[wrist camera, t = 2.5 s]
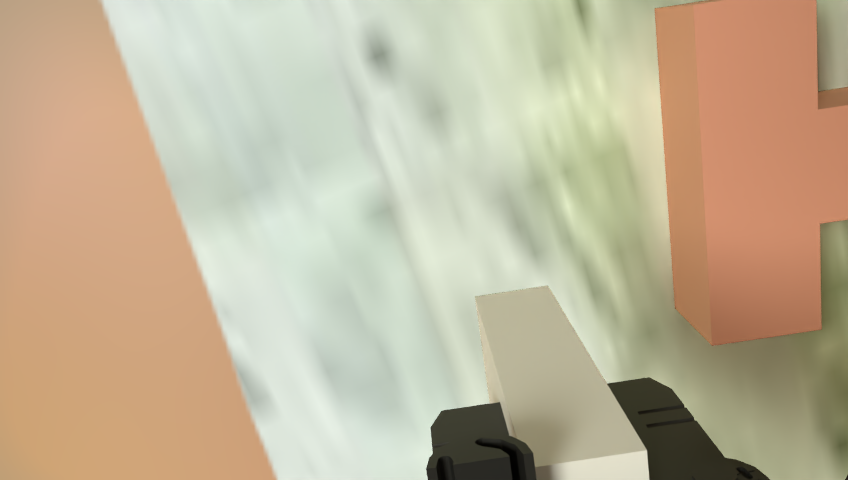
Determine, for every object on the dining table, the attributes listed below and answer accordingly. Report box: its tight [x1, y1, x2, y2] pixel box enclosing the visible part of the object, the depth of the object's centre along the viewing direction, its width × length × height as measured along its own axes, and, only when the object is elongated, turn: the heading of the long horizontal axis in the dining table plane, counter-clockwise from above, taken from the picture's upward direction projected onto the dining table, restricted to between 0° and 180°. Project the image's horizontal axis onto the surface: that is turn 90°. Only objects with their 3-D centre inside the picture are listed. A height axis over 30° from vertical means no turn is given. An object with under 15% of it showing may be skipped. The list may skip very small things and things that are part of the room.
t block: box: [655, 0, 848, 346], centre depth 29 cm, size 12×11×4 cm
